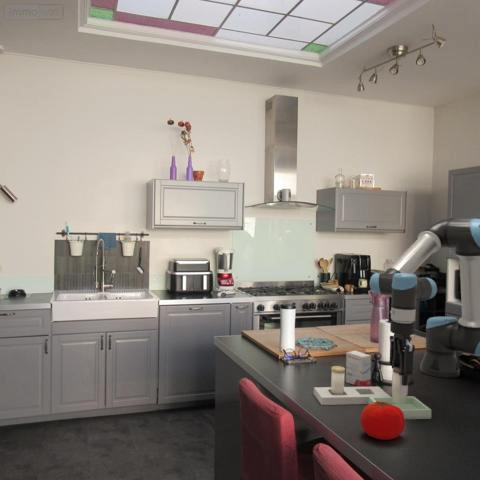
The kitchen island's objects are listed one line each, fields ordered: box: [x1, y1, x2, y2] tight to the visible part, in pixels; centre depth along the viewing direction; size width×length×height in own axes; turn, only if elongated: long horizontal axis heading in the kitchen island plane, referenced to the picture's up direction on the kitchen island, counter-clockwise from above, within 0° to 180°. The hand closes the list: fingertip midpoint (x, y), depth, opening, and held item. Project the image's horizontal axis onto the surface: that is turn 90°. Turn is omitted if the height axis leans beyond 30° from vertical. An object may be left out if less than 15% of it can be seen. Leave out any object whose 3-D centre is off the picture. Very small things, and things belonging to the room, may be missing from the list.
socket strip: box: [313, 365, 391, 406], centre depth 173 cm, size 24×10×11 cm, turn 97°
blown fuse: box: [391, 366, 407, 404], centre depth 162 cm, size 5×5×11 cm
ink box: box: [345, 350, 372, 387], centre depth 188 cm, size 9×5×12 cm, turn 33°
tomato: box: [360, 401, 406, 441], centre depth 143 cm, size 11×13×10 cm
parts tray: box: [368, 395, 432, 420], centre depth 162 cm, size 16×12×3 cm
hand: (399, 391), depth 162 cm, fingers closed on blown fuse, 4 cm apart
